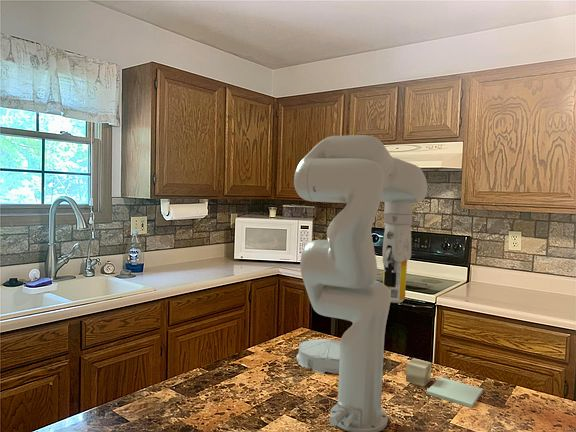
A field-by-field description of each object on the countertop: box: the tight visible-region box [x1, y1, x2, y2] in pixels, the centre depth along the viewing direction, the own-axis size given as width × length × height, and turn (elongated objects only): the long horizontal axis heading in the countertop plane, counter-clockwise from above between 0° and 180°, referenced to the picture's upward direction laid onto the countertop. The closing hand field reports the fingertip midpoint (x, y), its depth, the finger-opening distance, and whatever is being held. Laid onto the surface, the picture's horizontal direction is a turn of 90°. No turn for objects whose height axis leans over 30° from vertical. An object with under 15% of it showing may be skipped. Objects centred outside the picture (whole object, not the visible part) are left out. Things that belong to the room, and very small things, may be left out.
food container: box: [296, 338, 341, 375], centre depth 132 cm, size 20×20×7 cm
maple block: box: [405, 357, 432, 387], centre depth 120 cm, size 5×5×5 cm
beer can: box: [382, 250, 408, 304], centre depth 123 cm, size 6×6×15 cm
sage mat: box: [425, 376, 484, 409], centre depth 113 cm, size 11×11×1 cm
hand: (394, 284), depth 123 cm, fingers closed on beer can, 6 cm apart
